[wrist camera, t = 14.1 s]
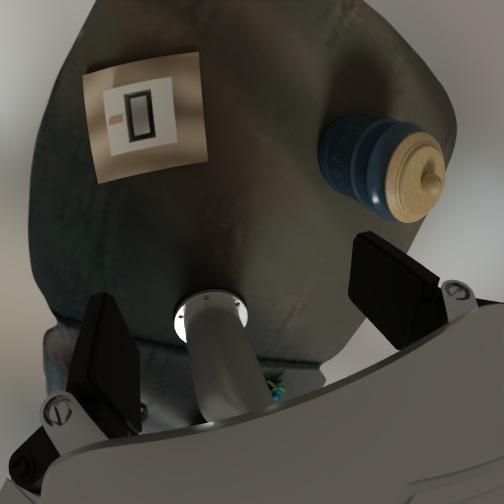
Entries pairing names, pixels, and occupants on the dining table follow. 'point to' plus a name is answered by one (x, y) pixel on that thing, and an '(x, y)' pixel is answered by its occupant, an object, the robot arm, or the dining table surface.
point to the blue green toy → (276, 390)
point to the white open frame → (121, 115)
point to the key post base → (181, 109)
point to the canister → (383, 165)
